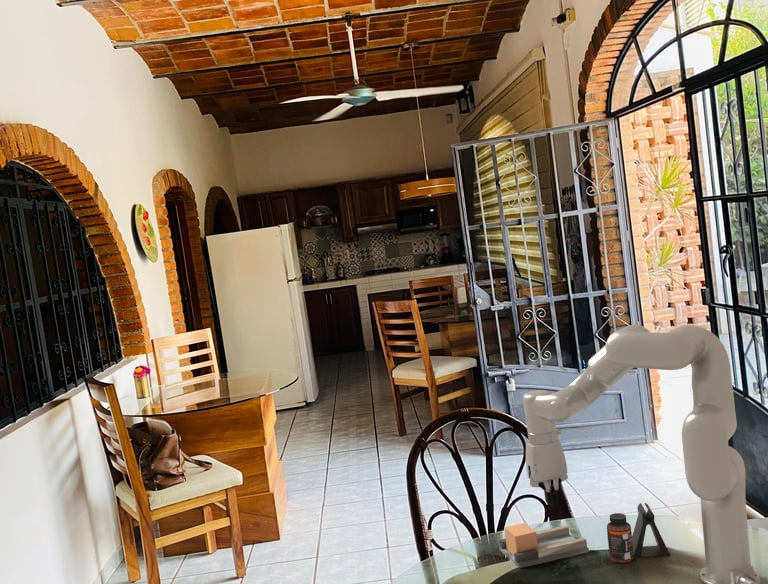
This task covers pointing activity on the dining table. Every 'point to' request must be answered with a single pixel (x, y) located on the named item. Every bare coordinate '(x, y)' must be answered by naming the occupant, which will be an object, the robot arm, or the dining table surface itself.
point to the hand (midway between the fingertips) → (552, 504)
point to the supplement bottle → (619, 539)
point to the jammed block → (520, 538)
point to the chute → (548, 547)
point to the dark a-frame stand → (639, 534)
